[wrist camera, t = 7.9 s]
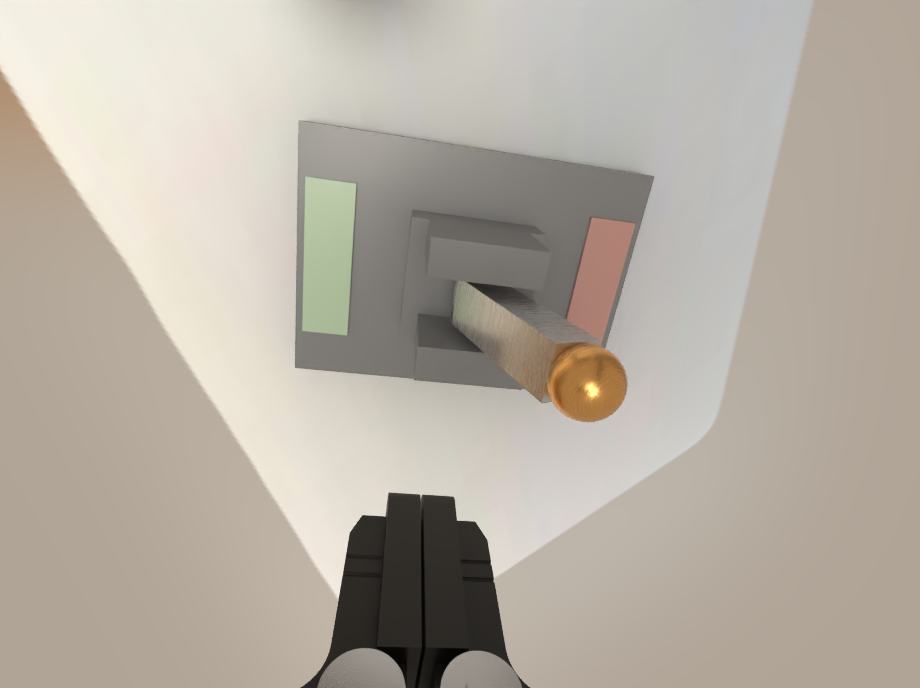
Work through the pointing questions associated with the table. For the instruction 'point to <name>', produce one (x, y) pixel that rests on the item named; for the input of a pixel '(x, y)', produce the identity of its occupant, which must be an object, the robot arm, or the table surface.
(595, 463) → the table surface
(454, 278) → the switch box
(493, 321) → the lever
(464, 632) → the robot arm
